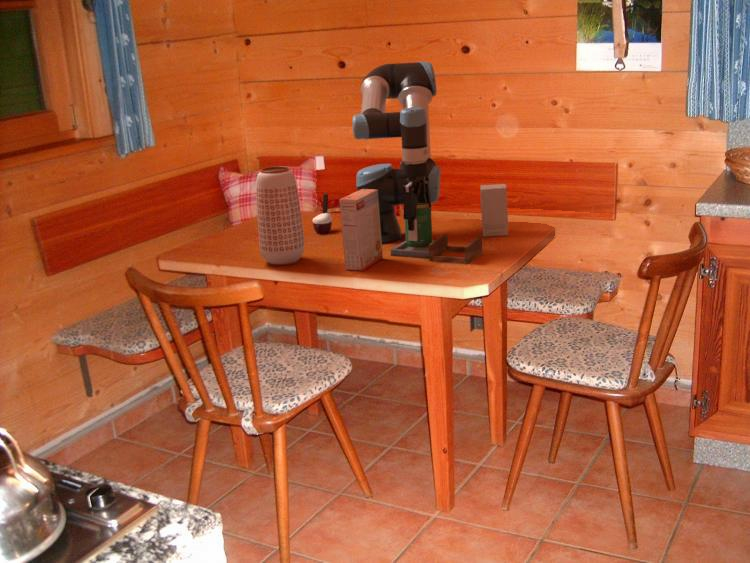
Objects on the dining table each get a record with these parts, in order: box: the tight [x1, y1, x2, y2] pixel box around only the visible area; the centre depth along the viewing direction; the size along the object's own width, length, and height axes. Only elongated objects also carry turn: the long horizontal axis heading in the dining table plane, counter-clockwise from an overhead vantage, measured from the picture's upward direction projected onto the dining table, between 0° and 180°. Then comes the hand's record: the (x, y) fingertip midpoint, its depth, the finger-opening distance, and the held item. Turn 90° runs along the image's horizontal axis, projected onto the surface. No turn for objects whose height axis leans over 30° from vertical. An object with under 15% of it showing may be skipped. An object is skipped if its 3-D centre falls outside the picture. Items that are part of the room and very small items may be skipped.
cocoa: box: [312, 193, 333, 235], centre depth 288 cm, size 10×6×12 cm, turn 139°
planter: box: [255, 165, 306, 267], centre depth 253 cm, size 13×13×28 cm
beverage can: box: [404, 203, 433, 248], centre depth 257 cm, size 8×8×12 cm
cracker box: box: [338, 189, 384, 272], centre depth 247 cm, size 14×6×21 cm, turn 154°
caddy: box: [428, 233, 484, 265], centre depth 250 cm, size 12×12×5 cm
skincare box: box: [479, 183, 509, 238], centre depth 271 cm, size 8×7×16 cm
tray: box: [390, 239, 435, 259], centre depth 259 cm, size 13×13×2 cm
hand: (418, 236), depth 258 cm, fingers closed on beverage can, 8 cm apart
